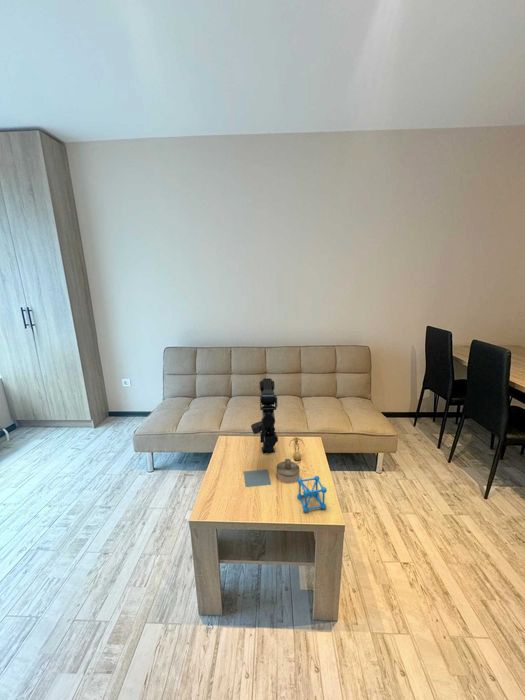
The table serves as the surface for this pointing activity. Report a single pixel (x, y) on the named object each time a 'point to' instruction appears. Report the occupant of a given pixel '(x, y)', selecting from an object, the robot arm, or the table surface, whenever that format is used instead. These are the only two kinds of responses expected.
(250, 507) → the table surface
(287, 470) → the lid
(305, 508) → the molecular structure
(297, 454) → the figurine
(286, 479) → the bowl
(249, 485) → the mat
